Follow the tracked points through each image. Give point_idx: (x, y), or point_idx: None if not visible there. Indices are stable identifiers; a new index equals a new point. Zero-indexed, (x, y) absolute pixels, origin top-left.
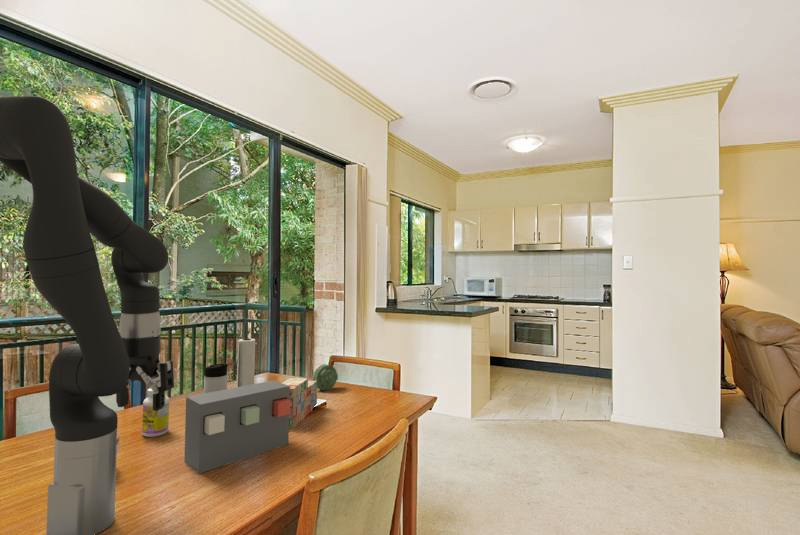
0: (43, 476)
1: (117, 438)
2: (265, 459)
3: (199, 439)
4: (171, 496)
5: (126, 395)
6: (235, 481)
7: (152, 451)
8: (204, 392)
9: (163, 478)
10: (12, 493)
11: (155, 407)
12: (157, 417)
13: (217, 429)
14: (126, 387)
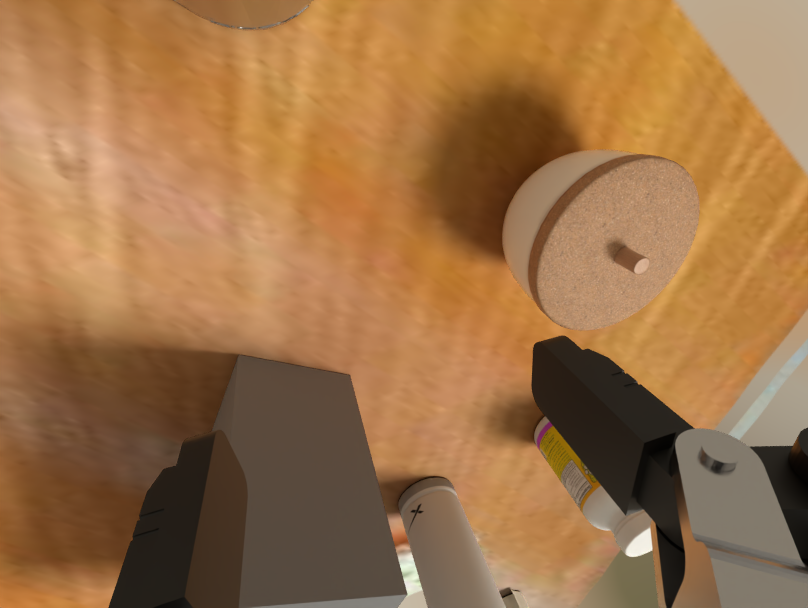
0: (659, 147)
1: (545, 307)
2: (134, 491)
3: (229, 442)
4: (161, 220)
5: (580, 441)
6: (64, 378)
7: (488, 369)
8: (491, 604)
9: (314, 288)
10: (673, 27)
11: (180, 459)
12: (572, 459)
13: None
14: (647, 508)
